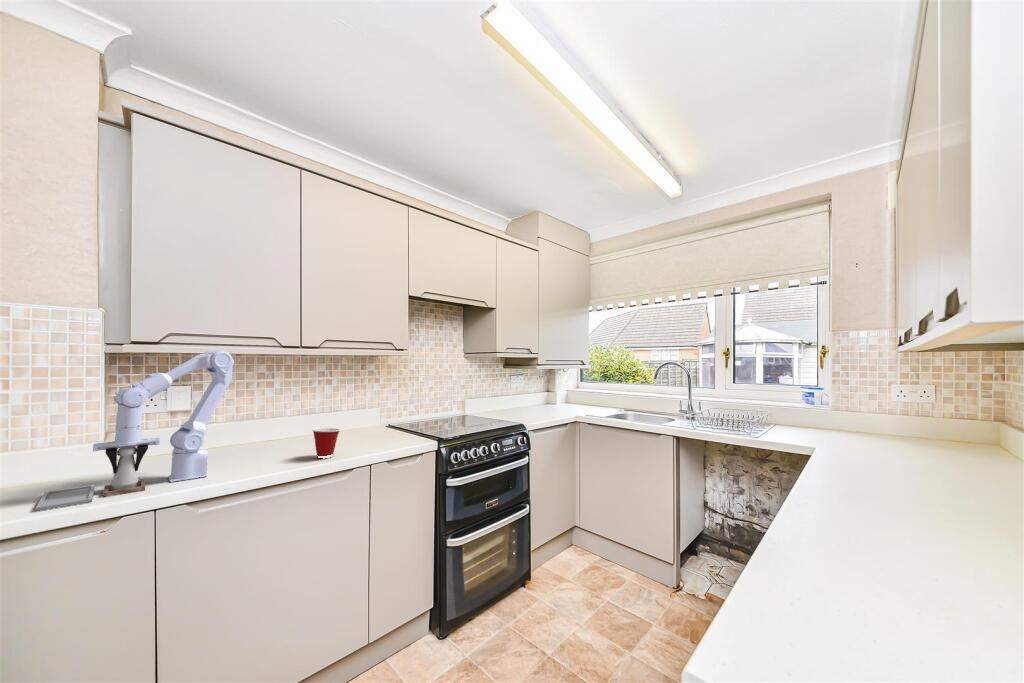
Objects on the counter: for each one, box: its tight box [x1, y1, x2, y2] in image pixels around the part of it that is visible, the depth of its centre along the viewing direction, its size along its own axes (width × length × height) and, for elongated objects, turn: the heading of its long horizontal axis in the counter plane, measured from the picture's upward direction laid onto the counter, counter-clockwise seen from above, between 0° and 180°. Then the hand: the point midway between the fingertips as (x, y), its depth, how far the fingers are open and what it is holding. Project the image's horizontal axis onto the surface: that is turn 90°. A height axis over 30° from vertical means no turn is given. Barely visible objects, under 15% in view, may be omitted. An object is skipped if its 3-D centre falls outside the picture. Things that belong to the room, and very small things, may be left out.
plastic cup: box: [311, 427, 341, 456], centre depth 163 cm, size 11×11×12 cm
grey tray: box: [35, 484, 96, 512], centre depth 111 cm, size 10×16×1 cm, turn 45°
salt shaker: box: [110, 447, 139, 491], centre depth 119 cm, size 6×6×13 cm
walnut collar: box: [102, 479, 146, 498], centre depth 119 cm, size 9×9×1 cm
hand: (125, 471), depth 119 cm, fingers closed on salt shaker, 4 cm apart
